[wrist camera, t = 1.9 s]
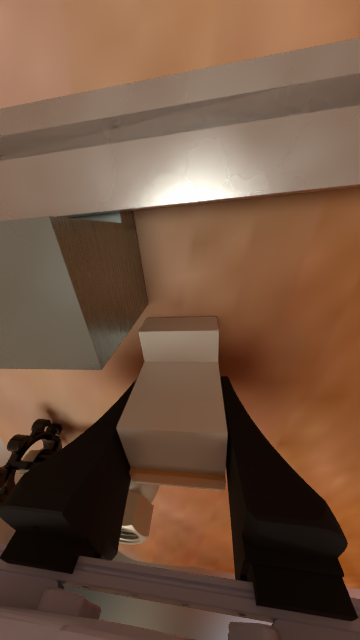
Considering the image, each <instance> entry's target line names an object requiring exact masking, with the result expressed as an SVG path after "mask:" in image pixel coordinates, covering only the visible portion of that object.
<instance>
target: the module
mask: <svg viewBox="0 0 360 640" xmlns="http://www.w3.org/2000/svg"><path fill="white" fill-rule="evenodd" d="M138 333H139V338H140V342H141V347H142V352H143V357H144V364H143V366H142V369H141V371H140V373H139V376H138V378H137V380H136V383H135V385H134V387H133V390H132V392H131V394H130V397H129V399H128V401H127V404H126V406H125V408H124V411H123V413H122V415H121V418H120V420H119V422H118V425H117V427H116V429H117V432H118V434H119V437H120V440H121V443H122V445H123V448H124V451H125V454H126V456H127V459H128V462H129V465H130V467H131V468H130V471H129V473H130V476H131V479H132V481H136V483H146V484H157V485H167V486H178V487H188V488H199V489H210V490H220V491H224V490H225V483H226V480H225V469H226V453H227V437H228V433H227V425H226V417H225V410H224V402H223V395H222V387H221V380H220V372H219V365H218V347H219V329H218V323H217V318H216V316H212V317H173V318H147V319H146V320H145V322H144V323H143V325H142V327H141V328H140V330H139V332H138Z"/></svg>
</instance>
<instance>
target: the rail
mask: <svg viewBox="0 0 360 640" xmlns="http://www.w3.org/2000/svg"><path fill="white" fill-rule="evenodd" d="M354 187H360V38H355V39H350V40H345V41H340V42H335V43H330V44H325V45H320V46H315V47H310V48H305V49H300V50H295V51H290V52H285V53H280V54H275V55H269V56H264V57H259V58H254V59H249V60H244V61H239V62H234V63H229V64H224V65H219V66H214V67H209V68H204V69H199V70H194V71H189V72H184V73H179V74H174V75H169V76H163V77H158V78H153V79H148V80H143V81H138V82H133V83H128V84H123V85H118V86H113V87H108V88H103V89H98V90H93V91H88V92H83V93H78V94H73V95H68V96H63V97H57V98H52V99H47V100H42V101H37V102H32V103H27V104H22V105H17V106H12V107H7V108H2V109H0V369H78V370H102V369H103V367H104V366H105V364H106V363H107V362H108V360H109V359H110V357H111V356H112V355H113V353H114V352H115V350H116V349H117V348H118V346H119V345H120V343H121V342H122V341H123V339H124V338H125V336H126V335H127V334H128V332H129V331H130V329H131V328H132V327H133V325H134V324H135V322H136V321H137V320H138V318H139V317H140V315H141V314H142V313H143V311H144V310H145V308H146V307H147V306H148V300H147V294H146V288H145V282H144V276H143V270H142V264H141V258H140V252H139V246H138V239H137V233H136V227H135V221H134V215H133V211H134V210H143V209H153V208H162V207H172V206H182V205H191V204H201V203H210V202H220V201H229V200H239V199H249V198H258V197H268V196H277V195H287V194H297V193H306V192H316V191H325V190H335V189H344V188H354Z"/></svg>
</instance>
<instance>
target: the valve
mask: <svg viewBox="0 0 360 640" xmlns="http://www.w3.org/2000/svg"><path fill="white" fill-rule="evenodd" d="M47 426H48V427H47ZM45 427H47V429H46V432H45V431H44V429H45ZM31 430H32V433H31V435H30V436H28V435H20V434H17V435H15V436H13V437H12V438H11V439H10V441H9V442H8V445H7V449H8V451H11V452H12V454H11V457H10V458H9V460H8V462H7V463H6V465H5V466H3V467H0V488H1V489H0V506H1V505H2V503H3V502H4V501H5V499H6V498H7V496H8V495H9V494H10V492H11V491H12V490H13V488H14V487H15V482H14V476H15V472H16V470H20V473H21V474H24V473H26V472H27V471H29V470H31V469H32V468H34V467H35V466H37V465H38V464H40V463H42V462H43V461H45V460H46V459H48V458H49V457H51V456H52V455H54V454H55V453H57V452H58V451H60V450H61V449H62V442H61V439H60V437H59V436H57V435H55V434H58V435H60V433H61V431H62V426H61V425H59V424H51V421H50V420H46V419H38V420H36V421H35V422H34V423H33V425H32V429H31ZM40 439H41V440H42V441H43V445H44V449H41V450H31V451H29V453H28V454H27V455H26V456H25V457H24V459H23V460H21V458H22V457H23V455H24V454H25V452H26V451H27V450H28V449H29V447H30V446H31V445H33V444H34V443H35V442H36V441H38V440H40ZM158 488H159V485H157V484H146V483H136V481H132V479H131V482H130V487H129V491H128V496H127V502H126V507H125V512H124V517H123V523H122V528H121V534H120V540H119V543H122V544H131V545H135V544H141V543H143V542H144V541H145V540H146V539H147V538H148V536H149V530H150V524H151V519H152V513H153V507H154V506H153V505H152V504H151V503H152V501H153V499H154V498H155V496H156V494H157V491H158Z"/></svg>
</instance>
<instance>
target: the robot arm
mask: <svg viewBox="0 0 360 640" xmlns="http://www.w3.org/2000/svg"><path fill="white" fill-rule="evenodd" d="M136 380H137V379H136ZM136 380H135V381H134V382H133V384H132V385H131V386H130V387H129V388H128V390H127V391H126V392H125V393H124V394H123V395H122V396H121V397H120V399H119V400H118V401H117V402H116V403H115V404H114V405H113V406H112V407H111V408H110V409H109V410H108V411H107V412H106V413H105V414H104V415H103V416H102V417H101V418H100V419H99V420H98V421H96V422H95V423H94V424H93V425H92V426H91V427H90V428H88V429H87V430H86V431H85V432H84V433H82V434H81V435H80V436H79V437H77V438H76V439H75V440H73V441H72V442H71V443H69V444H68V445H67V446H65V447H64V448H63V449H61V450H60V451H58V452H57V453H55V454H54V455H52V456H51V457H49V458H48V459H46V460H45V461H43V462H42V463H40V464H38V465H37V466H35V467H34V468H32V469H31V470H29V471H27V472H26V473H24V475H23V476H22V477H21V479H20V480H19V481H18V483H17V484H16V485H15V487H14V488H13V490H12V491H11V492H10V494H9V495H8V496H7V498H6V499H5V501H4V502H3V503H2V505H1V506H0V517H1V518H2V519H3V520H4V521H5V522H6V523H7V524H9V525H10V526H11V527H12V528H14V529H15V530H16V532H15V533H14V535H13V537H12V538H11V540H10V542H9V543H8V545H7V544H0V640H194V639H190V638H186V637H181V636H177V635H173V634H168V633H164V632H159V631H155V630H150V629H145V628H141V627H135V626H131V625H126V624H121V623H115V622H109V621H104V620H99V617H100V613H101V608H100V607H99V606H97V605H95V604H93V603H91V602H90V601H88V600H87V599H86V598H85V596H84V595H80V594H77V593H73V592H70V591H66V590H64V587H63V585H65V586H71V587H76V588H82V589H88V590H93V591H98V592H105V593H110V594H115V595H121V596H126V597H132V598H138V599H143V600H149V601H154V602H160V603H165V604H171V605H177V606H182V607H188V608H194V609H199V610H205V611H211V612H216V613H221V614H227V615H232V616H238V617H243V618H249V619H255V620H260V621H266V622H271V623H273V624H272V625H271V626H269V625H265V624H259V623H243V622H230V624H229V633H228V640H360V599H356V598H350V596H349V594H348V591H347V589H346V586H345V584H344V581H343V579H342V577H344V573H343V570H342V568H341V565H340V563H339V561H338V557H339V556H340V555H341V554H342V553H343V552H344V551H345V549H346V547H347V544H348V543H347V540H346V538H345V536H344V533H343V531H342V529H341V527H340V525H339V523H338V522H337V520H336V518H335V516H334V515H333V513H332V511H331V509H330V508H329V506H328V504H327V503H326V501H325V500H324V499H323V498H322V497H321V496H319V495H318V494H317V493H316V492H315V491H314V490H313V489H312V488H311V487H310V486H309V485H308V484H307V483H306V482H305V481H304V480H303V479H302V478H301V477H300V476H299V475H298V474H297V473H296V472H295V471H294V470H293V469H292V467H291V466H290V465H289V464H288V463H287V462H286V461H285V460H284V459H283V458H282V456H281V455H280V454H279V453H278V452H277V451H276V450H275V449H274V447H273V446H272V445H271V444H270V443H269V441H268V440H267V439H266V438H265V436H264V435H263V434H262V433H261V431H260V430H259V429H258V427H257V426H256V425H255V423H254V422H253V420H252V419H251V417H250V416H249V414H248V413H247V411H246V410H245V408H244V407H243V405H242V403H241V402H240V400H239V398H238V397H237V395H236V393H235V391H234V389H233V387H232V385H231V383H230V381H229V378H228V377H227V376H220V380H221V387H222V395H223V402H224V410H225V417H226V425H227V433H228V437H227V453H226V471H227V482H228V493H229V504H230V517H231V529H232V541H233V554H234V567H235V579H236V580H233V579H227V578H220V577H214V576H207V575H201V574H194V573H188V572H181V571H175V570H168V569H162V568H156V567H149V566H143V565H136V564H130V563H123V562H116V561H111V560H112V559H113V558H114V557H115V556H116V554H117V552H118V546H119V540H120V534H121V528H122V523H123V517H124V512H125V507H126V502H127V496H128V491H129V487H130V482H131V476H130V473H129V471H130V468H131V467H130V465H129V462H128V459H127V456H126V454H125V451H124V448H123V445H122V443H121V440H120V437H119V434H118V432H117V429H116V427H117V425H118V422H119V420H120V418H121V415H122V413H123V411H124V408H125V406H126V404H127V401H128V399H129V397H130V394H131V392H132V390H133V387H134V385H135V383H136Z"/></svg>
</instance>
